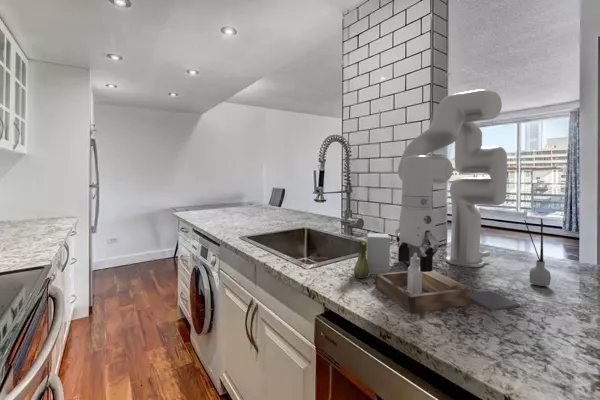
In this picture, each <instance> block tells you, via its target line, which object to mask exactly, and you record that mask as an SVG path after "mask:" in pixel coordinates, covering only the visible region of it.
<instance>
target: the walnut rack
mask: <svg viewBox="0 0 600 400" xmlns="http://www.w3.org/2000/svg"><path fill="white" fill-rule="evenodd" d="M374 275H375V278H374V279H375V281H374V282H375V284H374V287H375V289H377V290H378V291H379V292H381V293H382V294H384V295H385V296H386V297H387V298H389V299H390V300H392V301H393V302H394V303H395V304H397V305H399V306H400V307H402V308H403V309H404V310H405V311H407V312H408V313H409V314H416V313H422V312H429V311H436V310H437V311H438V310H443V309H451V308H452V307H453V308H458V307H459V306H460V307H465V306H471V300H470V293H472V292H471V289H470V288H467V287H465V288H464V287H463V289H455V290H447V291H438V292H423V293H422V294H414V295H412V294H410V293H409V292H407V290H406V289H404V288H402V287H405V286H406V287H407V284H408V270H404V271H395V272H389V273H383V274H374ZM453 308H452V309H453Z"/></svg>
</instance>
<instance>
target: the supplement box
mask: <svg viewBox="0 0 600 400" xmlns="http://www.w3.org/2000/svg"><path fill="white" fill-rule="evenodd" d="M390 247H391V237H390V235H389V233H379V232H378V233H370V232H367V233H366V259H367V262H368V266H369V275H375V274H383V273H390V249H391V248H390Z"/></svg>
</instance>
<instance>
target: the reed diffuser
mask: <svg viewBox="0 0 600 400" xmlns="http://www.w3.org/2000/svg"><path fill="white" fill-rule="evenodd" d="M523 221H524V223H525V226H526V229H527V232H528V234H529V237H530V239H531V242H532V245H533V247H534V250H535V253H536V256H537V259H536V266H534V267H532V268H530V270H529V283H530V284H532V285H535V286H538V287H539V286H541V287H548V286H550V285H551V278H552V277H551V272H550V271H549V270H548V269H547V268H546V267H545V266H546V265H545V261H544V240H543V239H544V237H543V236H544V234H543V233H544V232H543V230H544V229H543V227H544V222H543V218H540V251H539V252H540V253H538V251H537V247H536V246H535V243H534V240H533V237H532V235H531V232H530V229H529V226H528V223H527V221H526V219H524V220H523ZM539 254H540V255H539Z"/></svg>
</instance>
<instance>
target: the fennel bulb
mask: <svg viewBox="0 0 600 400" xmlns="http://www.w3.org/2000/svg"><path fill="white" fill-rule="evenodd" d="M353 274H354V276H355V277H356V278H357V279H366V278H368V277H369V276H370V274H369V266H368V262H367V242H365V241H364V240H359V242H358V257H357V260H356V263H355V265H354V268H353Z"/></svg>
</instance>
